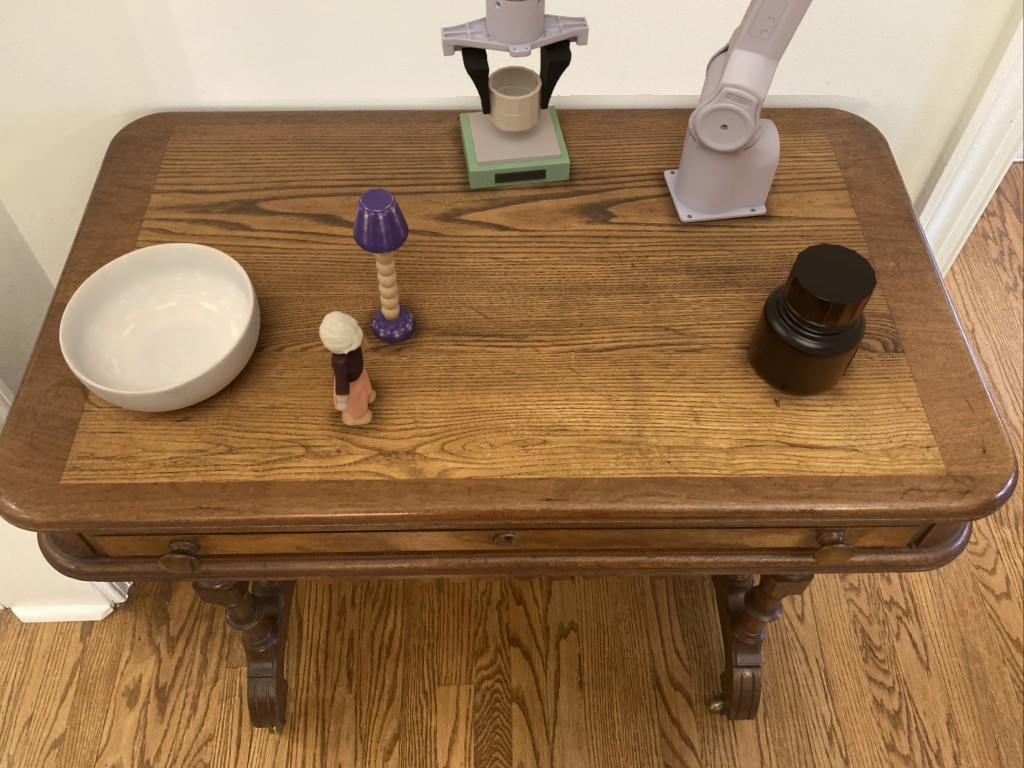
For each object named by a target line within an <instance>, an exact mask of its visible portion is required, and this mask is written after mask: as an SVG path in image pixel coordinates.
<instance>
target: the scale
mask: <svg viewBox="0 0 1024 768" xmlns="http://www.w3.org/2000/svg"><path fill="white" fill-rule="evenodd" d="M459 129H460V130H459V132H460V137H461V143H462V148H463V149H462V150H463V154H464V160H465V165H466V171H467V177H468V182H469V189H470V190H476V189H487V188H498V187H508V186H509V187H510V186H520V185H528V184H539V183H540V184H541V183H552V182H560V181H561V182H562V181H563V182H564V181H569V180H570V172H571V159H570V156H569V153H568V148H567V145H566V141H565V140H564V134H563V131H562V128H561V123H560V121H559V117H558V113H557V109H556V107H555V105H548V109H544V110H541V116H540V118H539V120H538V123H537V124H535V125H534V126H533V127H532V128H530V129H529V130H526V131H524V132H519V133H510V132H505V131H502V130H500V129H498V128H497V127H496V126H495V125H494V124H493V123H492V122H491V121H490V120H489V116H488V114H485V115H484V114H483V111H474V112H472V111H471V112H463V113H459Z"/></svg>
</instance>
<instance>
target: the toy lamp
mask: <svg viewBox="0 0 1024 768" xmlns="http://www.w3.org/2000/svg"><path fill="white" fill-rule="evenodd" d="M409 231H410V230H409V225H408V222H407V220H406V217H405V215H404V213H403V210H402V209H401V207H400V205H399V203H398V201H397V198H396V197H395V195H394V194H393V193H392V192H391V191H389V190H387V189H386V188H379V187H374V188H370V189H368V190H366V191H364V192H363V193H362V194H361V195H360V196H359V199H358V201H357V205H356V209H355V216H354V220H353V225H352V236H353V240H354V242H355V243H356V245H357V246H358V247H359V248H361V249H362V250H363V251H366V252H367V253H371V254H374V258H375V260H376V261H375V268H376V270H377V281H378V292H379V294H380V297H379V300H380V304H381V307H379V309H377V311H376V312H375V313H374V315H373V317H372V320H371V324H370V325H371V328H370V329H371V331H372V333H373V335H374V337H375V338H377V339H378V340H379V341H381V342H383V343H389V344H395V343H396V344H397V343H400V342H403V341H405V340H408V339H409V338H410V337H411V336H412V335H413V334H414V332H415V330H416V326H417V325H416V323H417V322H416V319H415V317H414V315H413V313H412V312H411V311H410V310H409V309H408V308H407V307H406V306H403V305H402V304H400V303H399V302H400V297H399V293H398V291H399V285H398V282H397V281H398V275H397V274H398V273H397V270H396V261H395V250H398V249H400V248H401V247H403V245H404V244H405V243H406V241H407V239H408V237H409Z"/></svg>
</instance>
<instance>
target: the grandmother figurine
mask: <svg viewBox="0 0 1024 768" xmlns="http://www.w3.org/2000/svg"><path fill="white" fill-rule="evenodd" d="M318 334H319V339H320V340H321V342H322V345H323V346H324V347H325V348H326V349H327V350H328V351H329V352H331V353H332V354H331V362H330V363H331V365H330V366H331V367H332V370H333V373H334V379H333V394H332V395H333V405H334V409H335V410H336V411H339V412H340V413H341V421H342V423H343V424H344V425H345V426H348V427H349V426H350V427H351V426H363V425H367V424H369V423H371V422H372V420H373V411H372V410H371V409H369V405H370V404H372V403H374V402H375V400H376V398H377V391H375V390H374V389H373V387H372V384H371V380H370V377H369V373H368V372H367V370H366V369H365V367H364V365H365V362H364V357H363V356H364V355H363V350H362V349H365V348H367V346H368V344H369V343H368V339H367V338H366V337H365V336H364V332H363V329H362V328H361V326H360V325H359V322H358V321H357V319H356V318H354V317H353V316H351V315H350V314H347V313H345V312H342V311H339V310H338V311H337V310H334V311H331V312H329V313H327V314H326V315H325V316H324V318H323V319H322V321H321V324H320V326H319V331H318Z"/></svg>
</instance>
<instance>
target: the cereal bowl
mask: <svg viewBox="0 0 1024 768" xmlns="http://www.w3.org/2000/svg"><path fill="white" fill-rule="evenodd" d="M260 308H261V307H260V305H259V299H258V296H257V292H256V290H255V286H254V284H253V282H252V280H251V277H250V276H249V274H248V273H247V272H246V269H244V267H243V266H242V265H241V263H239V262H238V261H237V260H236V259H234V258H233V257H231V256H230V255H229V254H227V253H225V252H223V251H221V250H220V249H217V248H214V247H211V246H207V245H204V244H199V243H192V242H191V243H190V242H169V243H162V244H154V245H149V246H145V247H142V248H139V249H135V250H133V251H130V252H128V253H125V254H123V255H121V256H119V257H117V258H115V259H113V260H111V261H110V262H108V263H106V264H104V265H103V266H101V267H100V268H99V269H97V270H95V271H94V272H93V273H92V274H91V275H90V276H88V278H86V279H85V280H84V281H83V282H82V283H81V285H80V286H79V287H78V288H77V289H76V290H75V292H74V293H73V295H71V297H70V299H69V301H68V303H67V304H66V306H65V309H64V311H63V313H62V317H61V319H60V323H59V324H60V325H59V331H58V333H59V334H58V336H59V346H60V351H61V354H62V356H63V358H64V360H65V363H66V364H67V365H68V367H69V369H70V371H71V372H72V373H73V374H74V376H75V377H76V378H77V379H78V380H79V381H80V382H81V383H82V384H83V385H84V386H85V387H86V388H87V389H88V390H89V391H90V392H92V393H93V394H94V395H96V396H97V397H99V398H100V399H102V400H103V401H106V403H107V402H108V403H109V404H111V405H114V406H117V407H118V408H123V409H125V410H130V411H134V412H142V413H162V412H170V411H171V412H172V411H175V410H179V409H185V408H187V407H190V406H194V405H195V404H198V403H200V402H203V401H205V400H207V399H209V398H210V397H212V396H213V397H214V395H215V394H218V393H219V392H221V391H222V390H223V389H224V388H226V387H227V386H228V385H230V384H231V383H232V381H234V380H235V379H236V378H237V377H238V376H239V374H240V373H241V372H242V371H243V369H244V368H245V366H246V365H247V364H248V363H249V360H250V359H251V358H252V356H253V353H254V351H255V349H256V346H257V344H258V341H259V336H260V331H261V330H260V329H261V321H262V320H261V309H260Z"/></svg>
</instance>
